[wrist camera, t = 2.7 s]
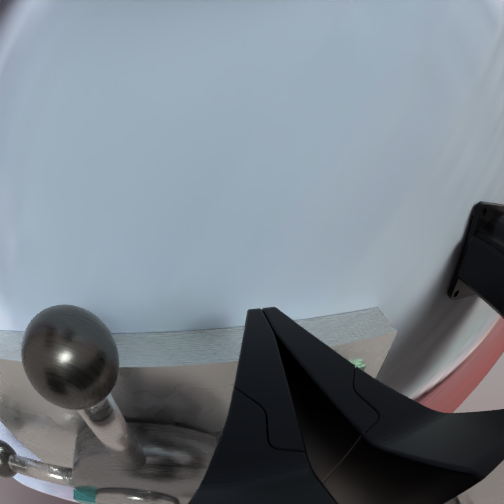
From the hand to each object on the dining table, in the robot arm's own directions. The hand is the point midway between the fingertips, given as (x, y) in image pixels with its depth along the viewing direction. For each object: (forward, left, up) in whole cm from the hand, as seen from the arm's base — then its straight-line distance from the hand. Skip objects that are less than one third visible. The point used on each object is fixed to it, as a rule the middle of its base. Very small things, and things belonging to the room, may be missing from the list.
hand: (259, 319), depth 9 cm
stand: (+5, +12, -3) cm, 13 cm away
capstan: (+6, +12, -1) cm, 13 cm away
